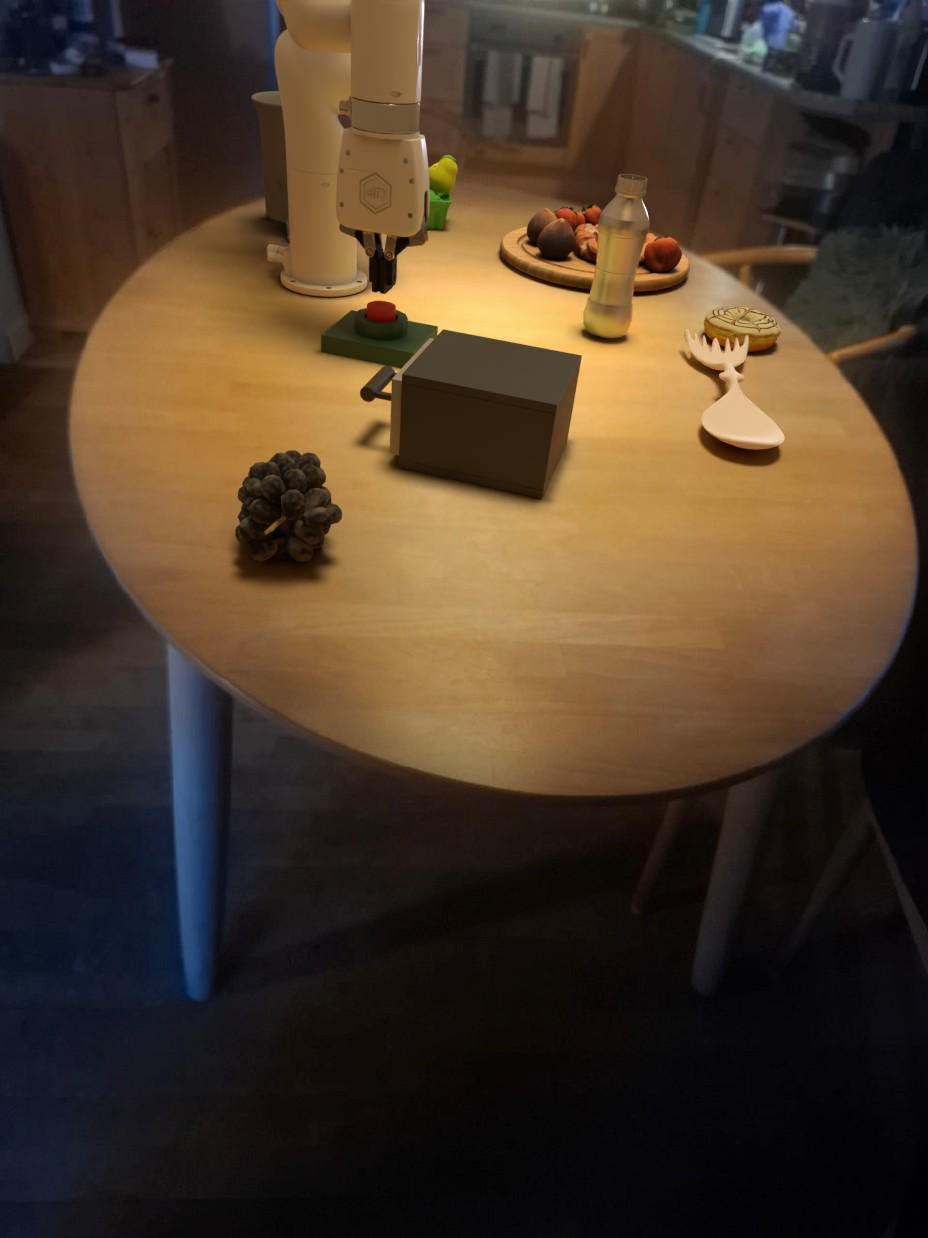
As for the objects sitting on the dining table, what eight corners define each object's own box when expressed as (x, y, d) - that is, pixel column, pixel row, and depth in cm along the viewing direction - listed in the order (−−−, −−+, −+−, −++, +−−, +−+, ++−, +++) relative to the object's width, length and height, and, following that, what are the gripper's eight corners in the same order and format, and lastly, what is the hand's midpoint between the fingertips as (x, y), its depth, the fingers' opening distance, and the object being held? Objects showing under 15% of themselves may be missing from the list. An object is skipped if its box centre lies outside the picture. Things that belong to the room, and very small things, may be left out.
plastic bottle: (627, 346, 117) (659, 186, 104) (577, 339, 117) (604, 178, 105) (629, 330, 122) (660, 175, 109) (582, 323, 122) (608, 168, 110)
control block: (320, 352, 107) (320, 320, 104) (351, 326, 114) (351, 295, 112) (412, 370, 105) (413, 338, 102) (437, 342, 112) (439, 312, 110)
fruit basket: (403, 212, 161) (406, 145, 154) (450, 215, 163) (455, 149, 155) (407, 229, 153) (410, 159, 145) (456, 232, 154) (462, 162, 147)
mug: (333, 247, 141) (331, 67, 125) (244, 237, 141) (231, 57, 126) (354, 218, 156) (354, 54, 140) (273, 209, 156) (264, 45, 140)
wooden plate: (727, 283, 143) (741, 230, 138) (582, 306, 128) (592, 248, 123) (601, 230, 163) (609, 183, 158) (462, 245, 148) (466, 193, 143)
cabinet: (398, 467, 86) (401, 373, 80) (437, 415, 96) (442, 328, 89) (542, 498, 83) (557, 404, 77) (567, 442, 93) (582, 355, 87)
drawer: (349, 444, 87) (348, 369, 82) (389, 400, 95) (391, 330, 90) (520, 482, 84) (531, 406, 79) (545, 432, 92) (556, 361, 87)
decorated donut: (786, 341, 124) (795, 315, 121) (760, 361, 116) (768, 334, 114) (718, 321, 128) (726, 295, 125) (689, 339, 121) (696, 312, 118)
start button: (362, 321, 106) (362, 307, 105) (372, 312, 109) (372, 298, 108) (389, 326, 106) (390, 312, 105) (399, 317, 108) (400, 303, 107)
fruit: (260, 395, 75) (248, 477, 63) (350, 424, 78) (355, 508, 66) (235, 478, 80) (220, 569, 68) (321, 503, 83) (321, 595, 71)
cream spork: (743, 356, 117) (750, 332, 115) (787, 468, 92) (797, 439, 90) (677, 348, 118) (683, 323, 116) (703, 458, 93) (711, 428, 91)
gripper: (307, 113, 92) (313, 288, 103) (440, 131, 89) (431, 309, 101) (335, 105, 98) (337, 272, 109) (460, 122, 95) (449, 291, 106)
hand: (382, 289), depth 105 cm, fingers closed
